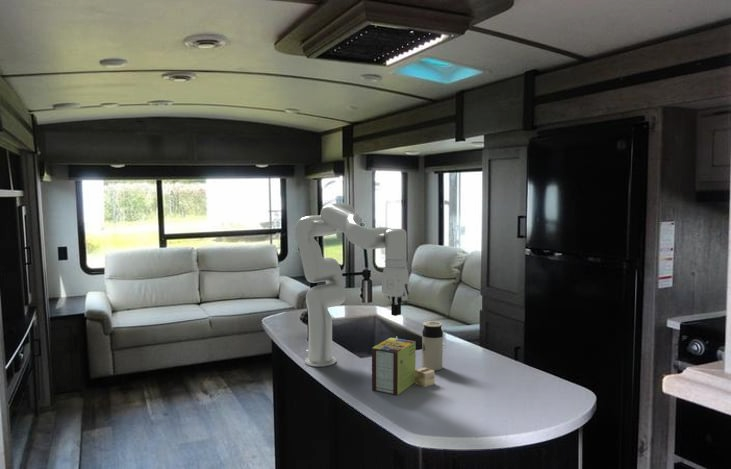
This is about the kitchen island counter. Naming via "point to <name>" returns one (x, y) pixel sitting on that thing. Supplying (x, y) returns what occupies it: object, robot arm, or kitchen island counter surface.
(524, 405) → the kitchen island counter surface
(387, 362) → the protein box
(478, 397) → the kitchen island counter surface
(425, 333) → the travel mug
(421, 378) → the slotted oak block
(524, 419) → the kitchen island counter surface
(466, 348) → the kitchen island counter surface
